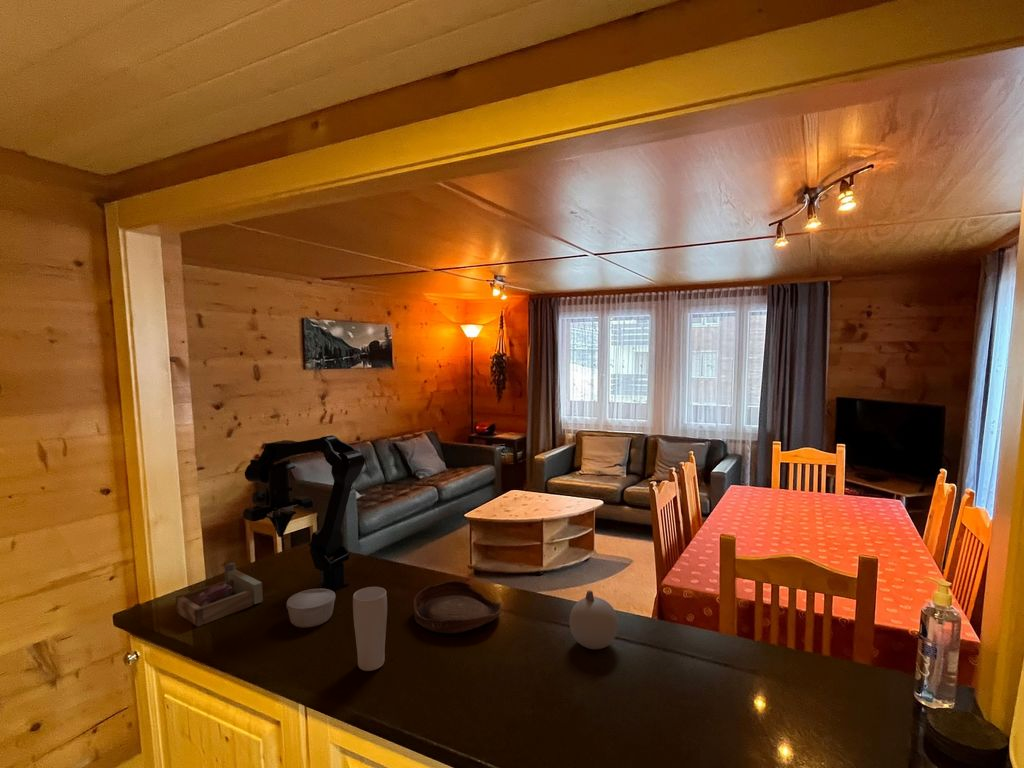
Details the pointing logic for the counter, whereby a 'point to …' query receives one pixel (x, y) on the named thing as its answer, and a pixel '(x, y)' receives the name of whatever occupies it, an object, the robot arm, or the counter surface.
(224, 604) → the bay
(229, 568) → the gate
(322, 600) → the ramekin
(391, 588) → the counter surface
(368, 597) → the drinking glass
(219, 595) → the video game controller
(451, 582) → the dark brown shallow dish
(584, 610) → the ornament
